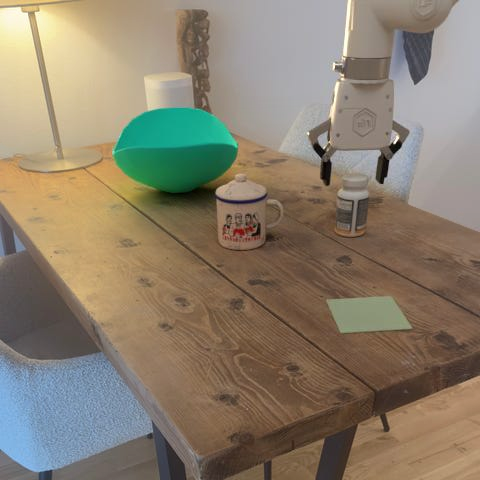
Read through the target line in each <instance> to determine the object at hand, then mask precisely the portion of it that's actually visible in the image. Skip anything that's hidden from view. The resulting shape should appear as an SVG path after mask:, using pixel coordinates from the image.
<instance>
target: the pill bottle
mask: <svg viewBox="0 0 480 480" xmlns="http://www.w3.org/2000/svg"><path fill="white" fill-rule="evenodd" d="M340 179H341V181H340V184H341V188H339V190H338V191H337V195H336V205H335V206H336V208H335V221H334V232H335V233H336V234H337V235H338V236H341V237H345V238H346V237H347V238H357V237H361V236H362V235H364V234H365V232H366V229H367V228H366V227H367V219H368V211H369V202H370V192H369V190H368V188H367V186H368V185H369V176H368V175H367V174H363V173H357V172H356V173H355V172H354V173H353V172H352V173H345V174H343V175H342V176H341V178H340Z"/></svg>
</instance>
